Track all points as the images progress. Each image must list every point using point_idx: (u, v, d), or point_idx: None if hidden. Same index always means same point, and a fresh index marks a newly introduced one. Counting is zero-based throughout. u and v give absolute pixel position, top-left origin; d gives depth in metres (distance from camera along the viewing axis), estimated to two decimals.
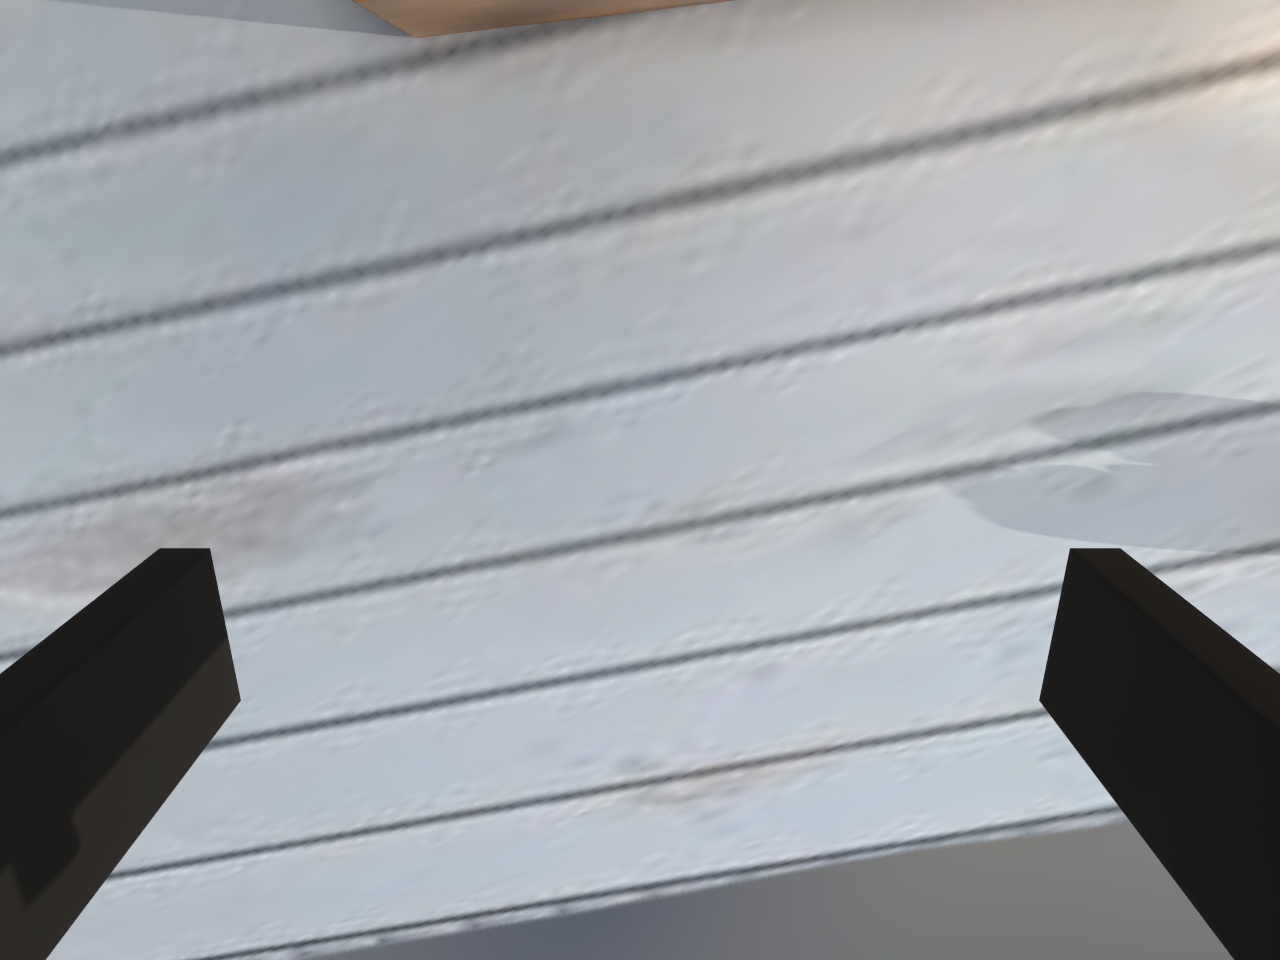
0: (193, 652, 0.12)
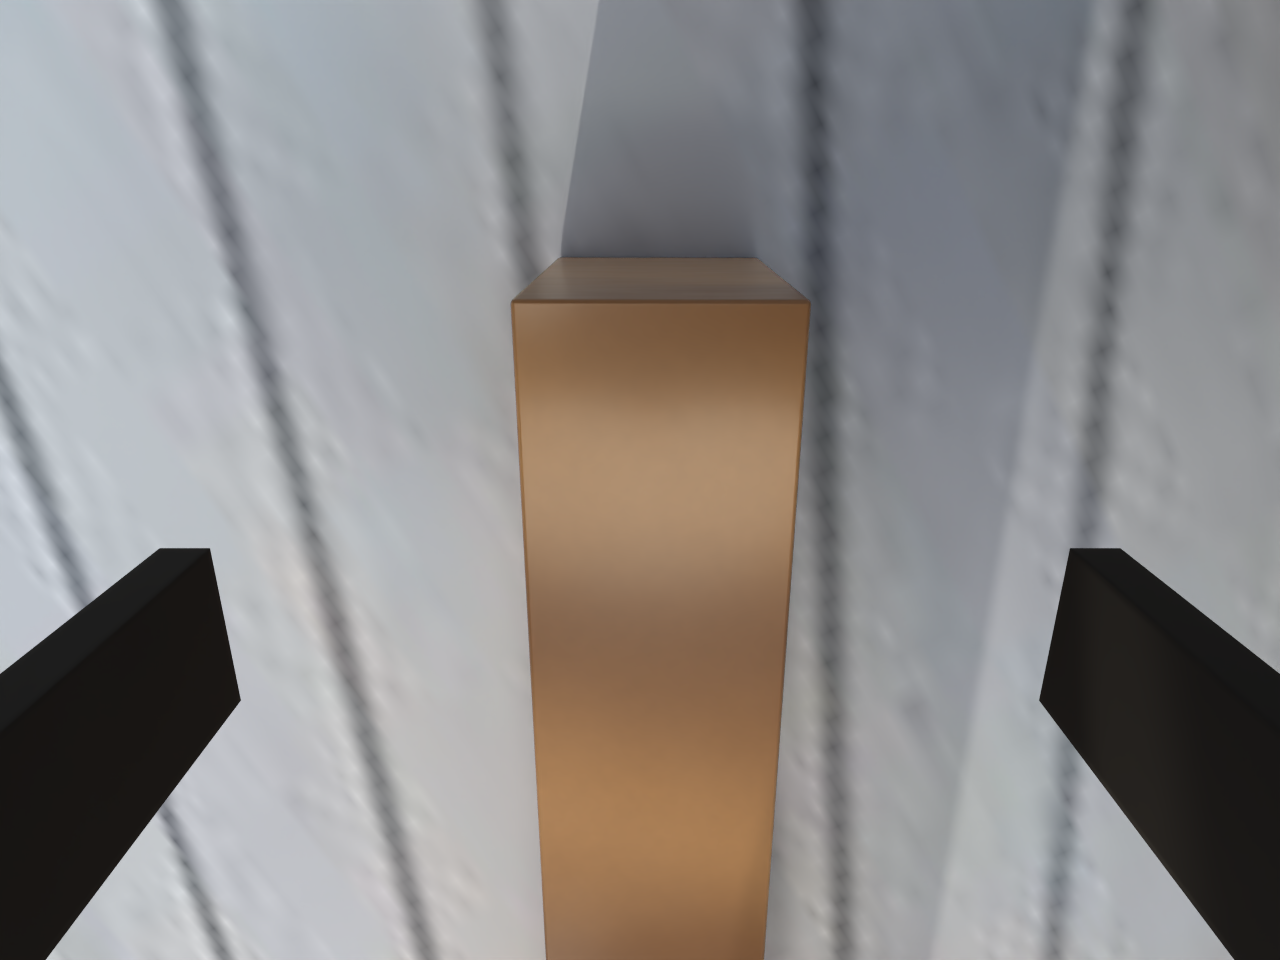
0: (193, 652, 0.12)
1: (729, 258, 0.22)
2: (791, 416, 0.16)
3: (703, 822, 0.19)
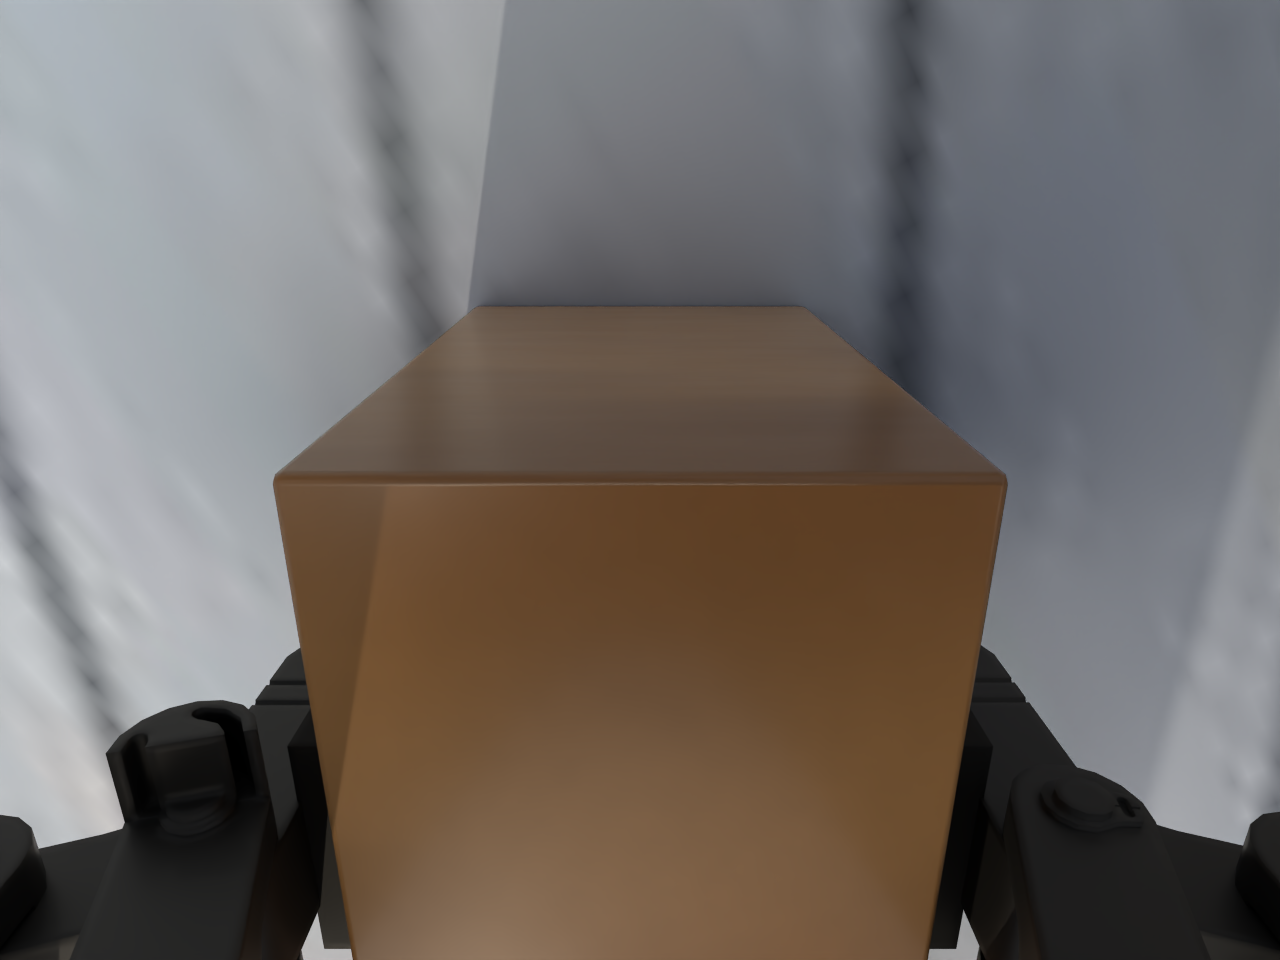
0: None
1: (758, 308, 0.13)
2: (943, 722, 0.07)
3: None
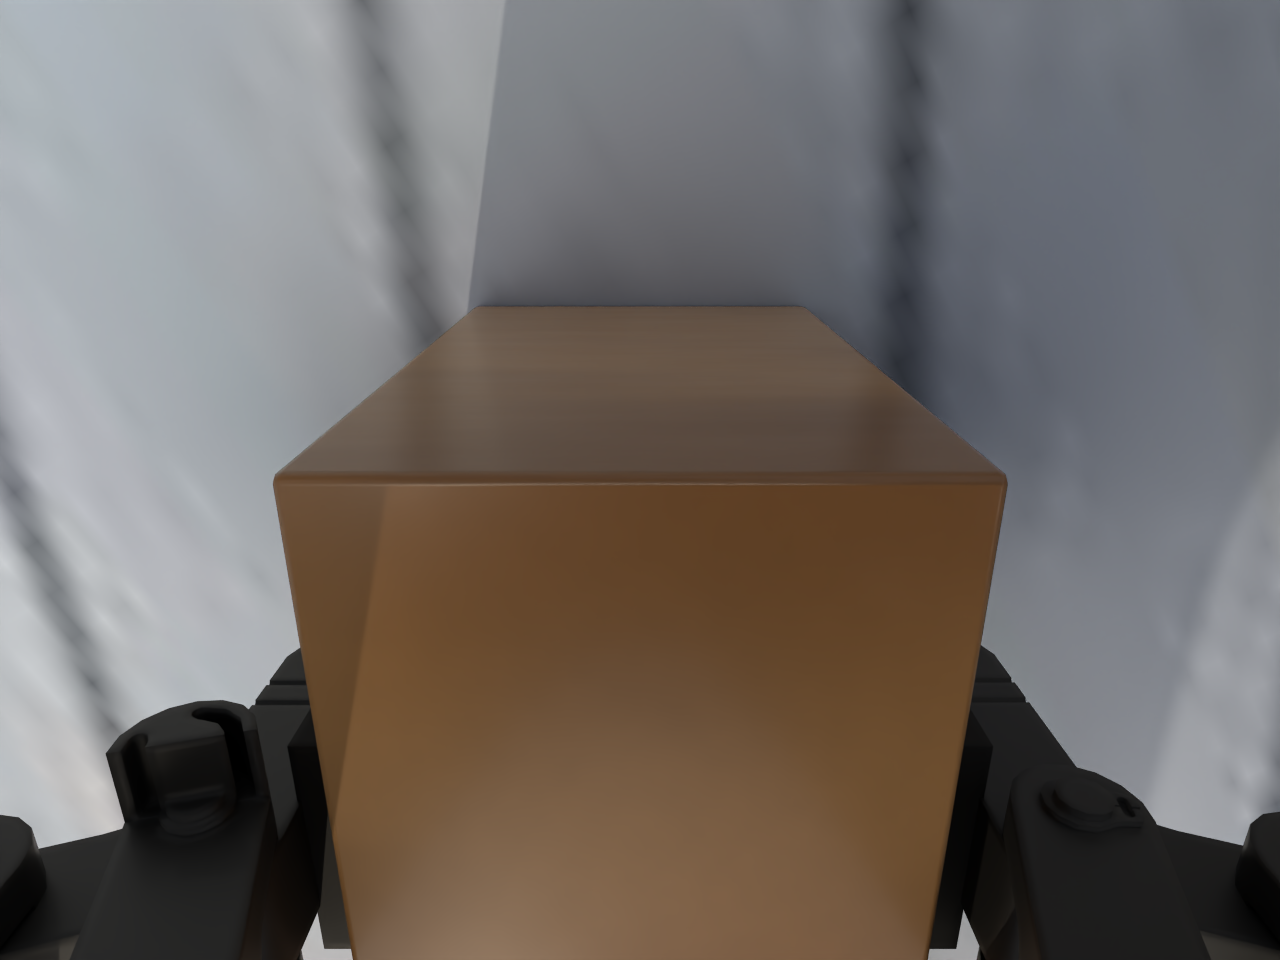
0: None
1: (758, 308, 0.13)
2: (943, 722, 0.07)
3: None
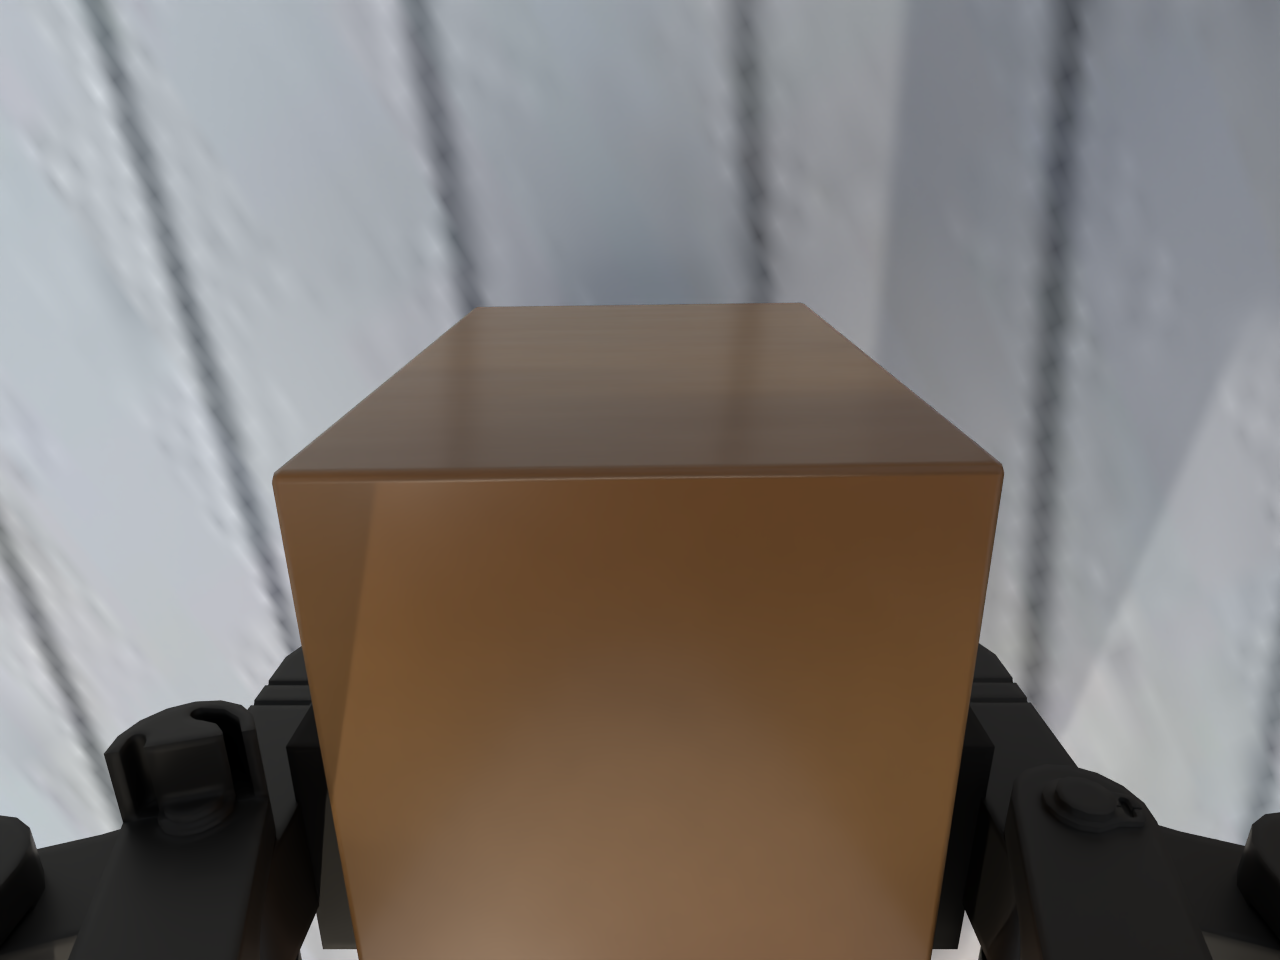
0: None
1: (757, 305, 0.13)
2: (943, 712, 0.07)
3: None
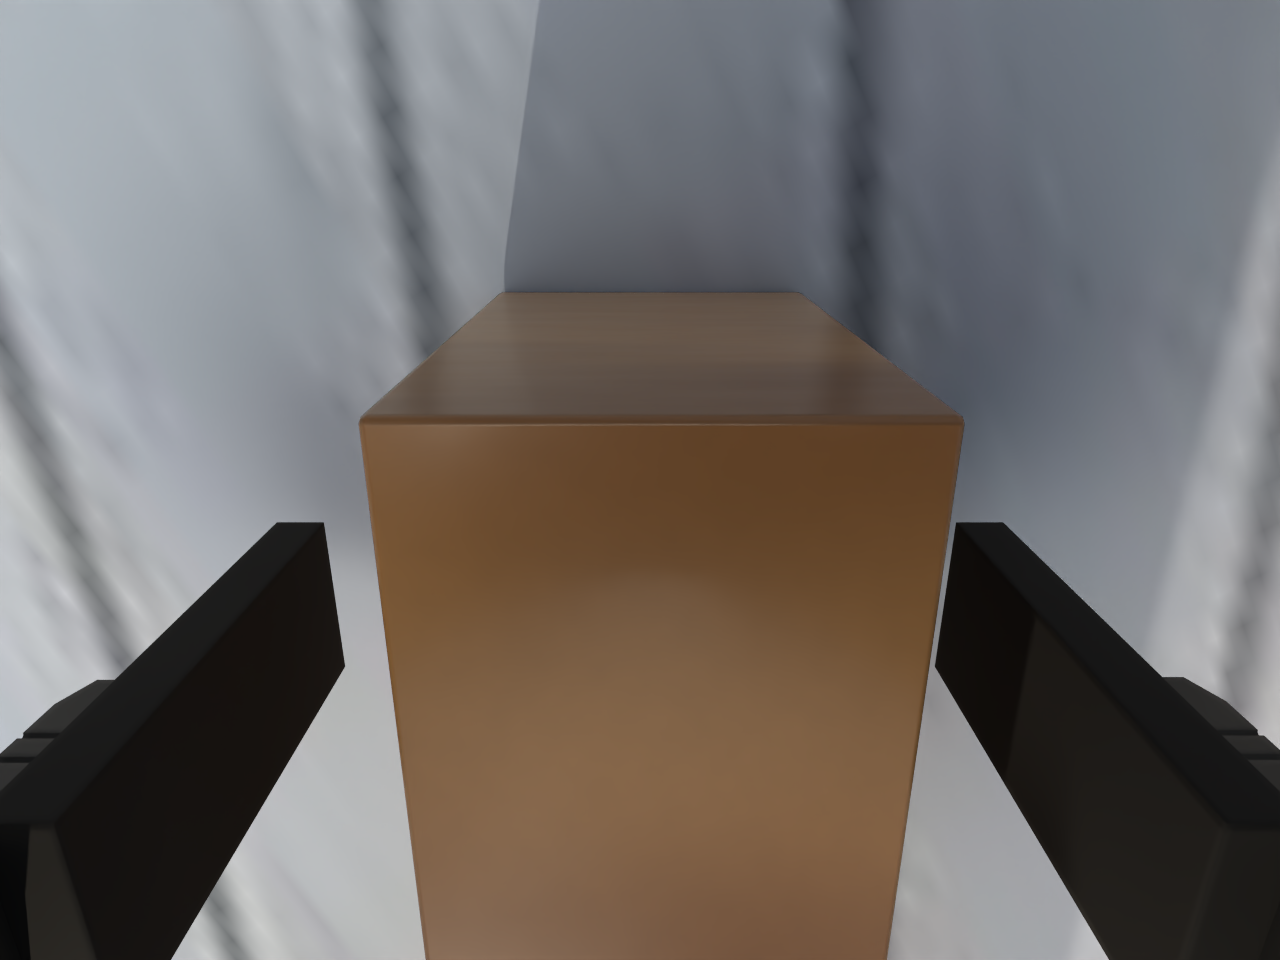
0: (312, 618, 0.13)
1: (758, 293, 0.14)
2: (914, 629, 0.08)
3: None
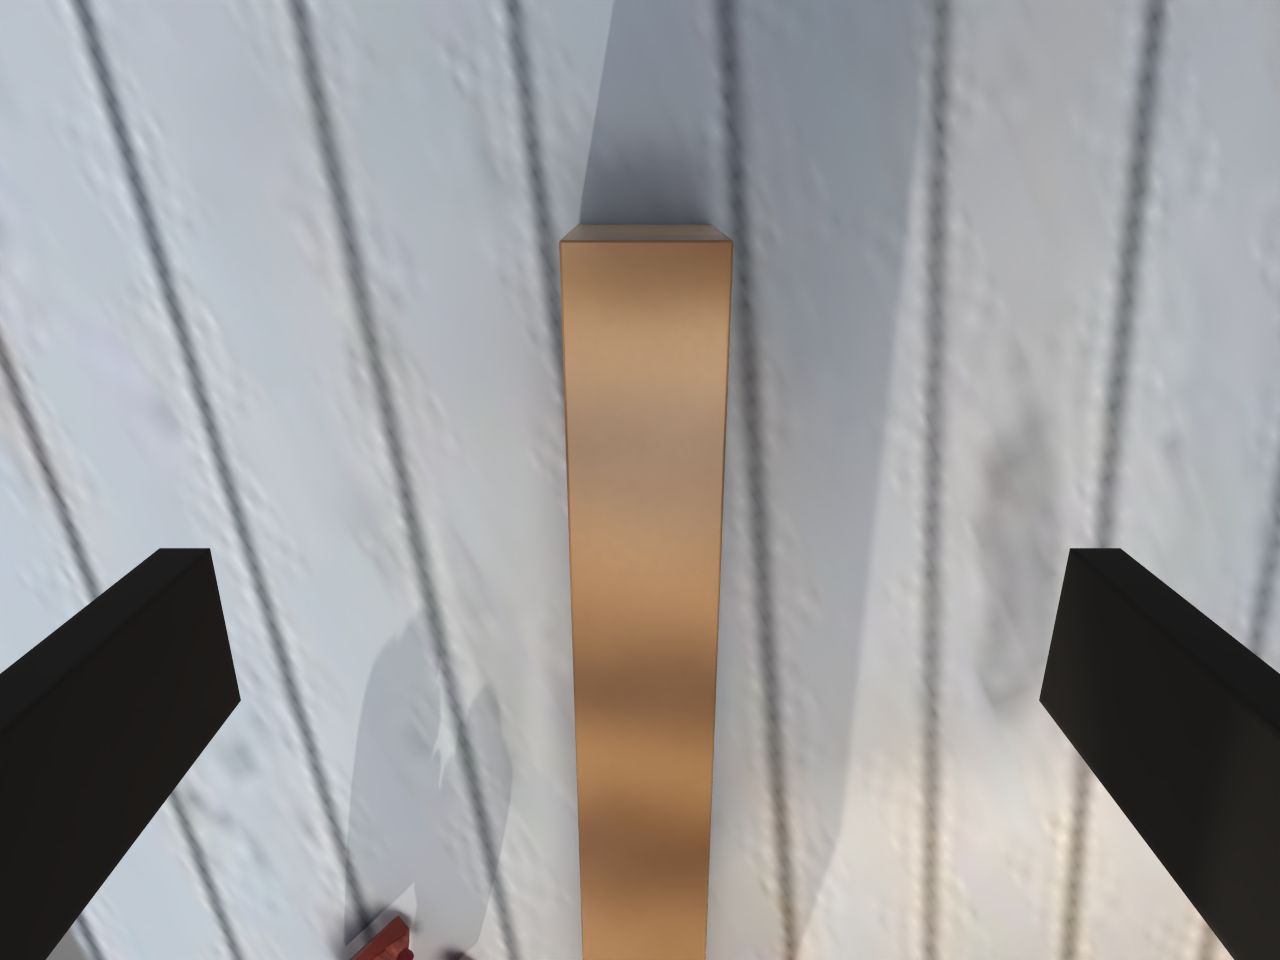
0: (193, 652, 0.12)
1: (692, 224, 0.33)
2: (723, 310, 0.26)
3: (675, 580, 0.30)
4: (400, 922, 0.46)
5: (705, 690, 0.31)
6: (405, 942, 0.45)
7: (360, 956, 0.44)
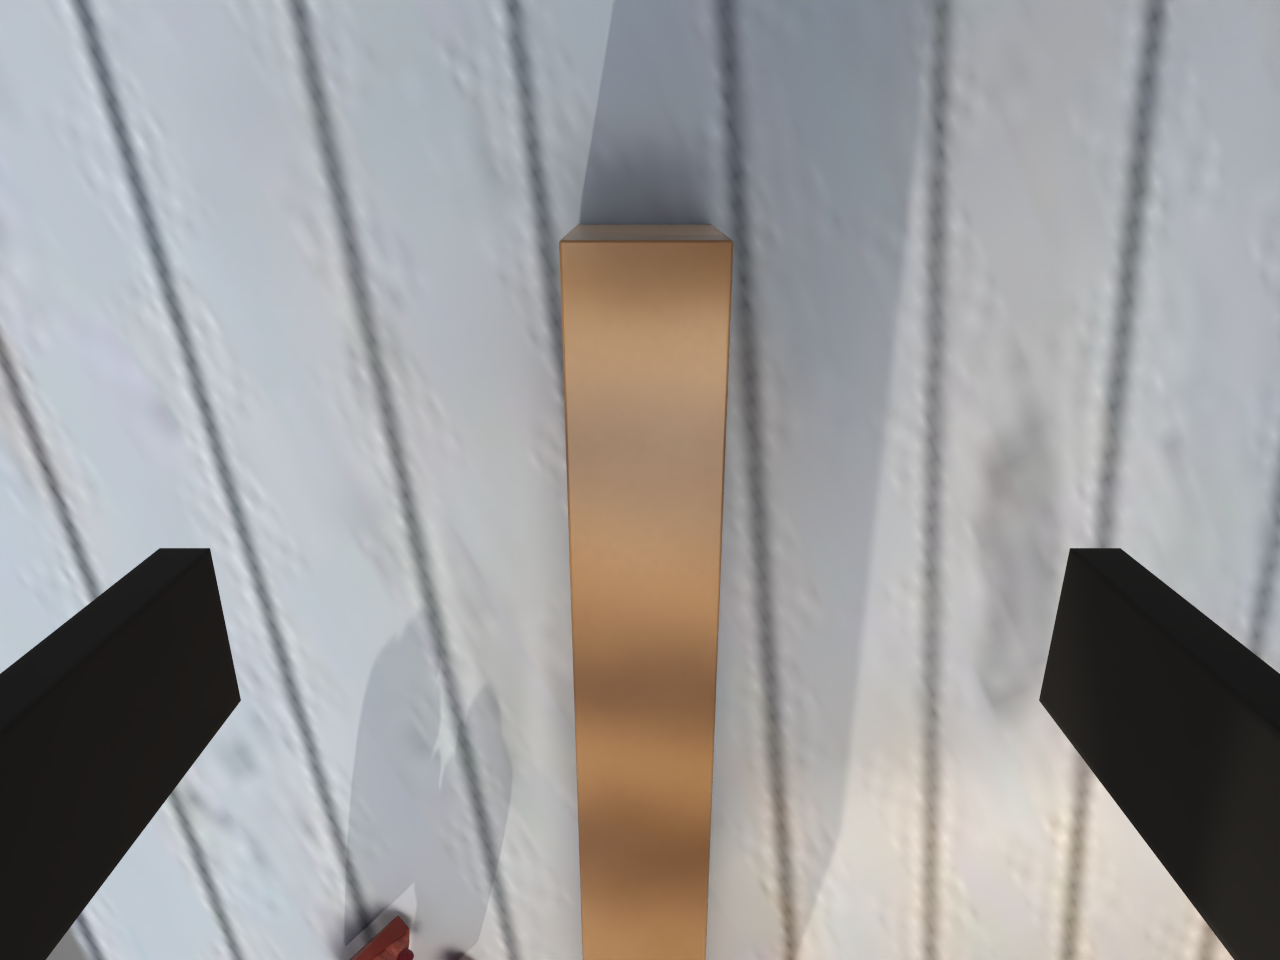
0: (193, 652, 0.12)
1: (692, 224, 0.33)
2: (723, 310, 0.26)
3: (675, 580, 0.30)
4: (400, 922, 0.46)
5: (705, 690, 0.31)
6: (405, 942, 0.45)
7: (360, 956, 0.44)
